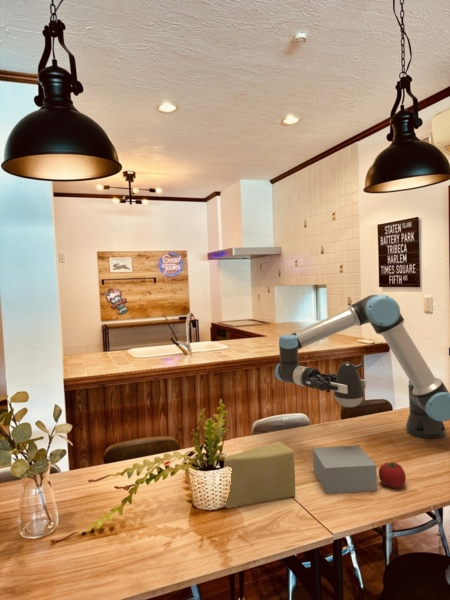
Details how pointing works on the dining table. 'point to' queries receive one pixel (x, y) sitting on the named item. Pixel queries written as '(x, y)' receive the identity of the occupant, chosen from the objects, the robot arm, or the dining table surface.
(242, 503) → the cheese
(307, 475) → the dining table surface
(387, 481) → the tomato
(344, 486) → the slate block
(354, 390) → the pump dispenser
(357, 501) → the dining table surface
